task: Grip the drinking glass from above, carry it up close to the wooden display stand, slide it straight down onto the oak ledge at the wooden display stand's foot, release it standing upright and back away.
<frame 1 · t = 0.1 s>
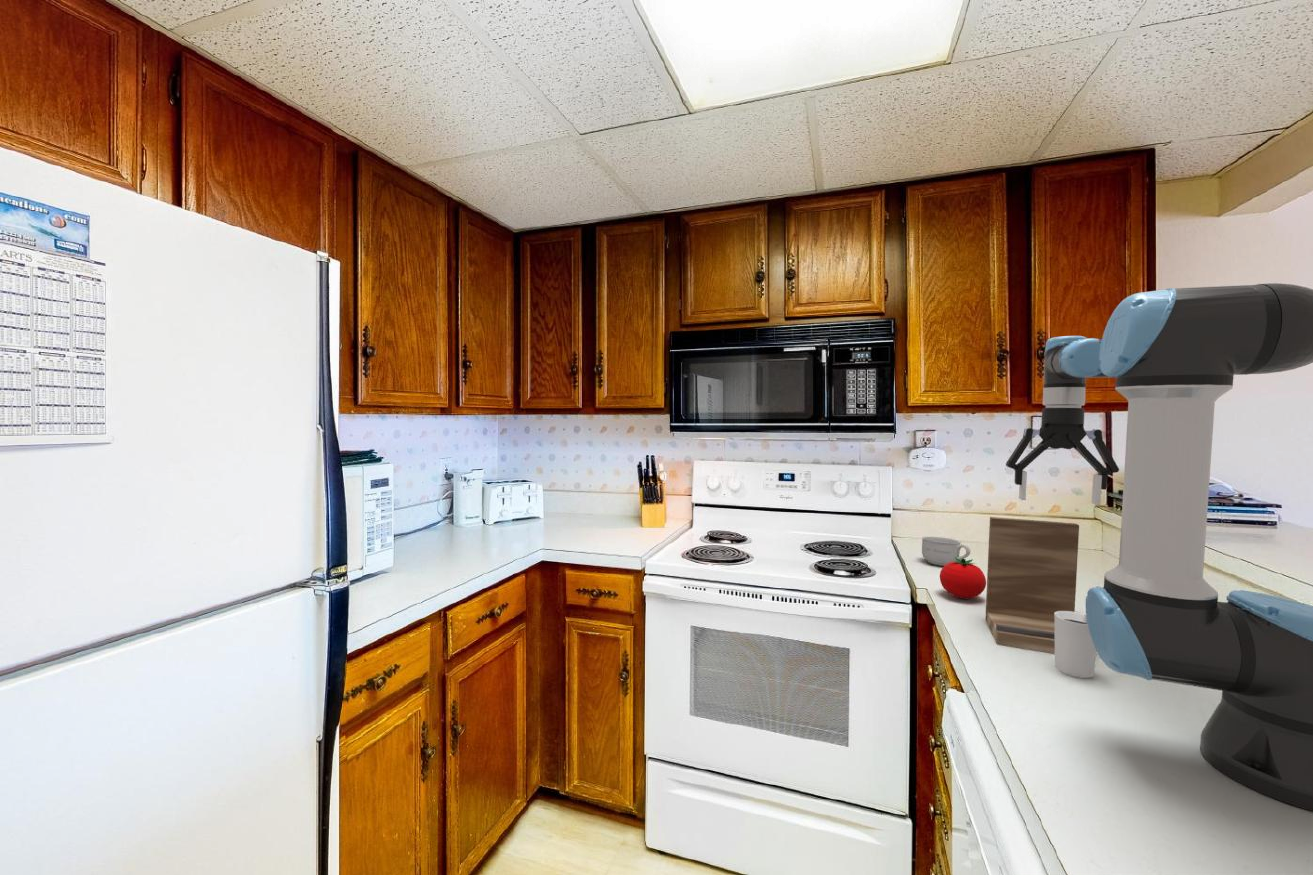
hand: (1058, 501, 119), 28 cm above the worktop, tool pointing down, fingers open, 13 cm apart
teacup: (944, 565, 166), on the worktop
wooden display stand: (1027, 627, 118), on the worktop
wall hook: (1050, 620, 123), on the worktop
tomato: (961, 597, 137), on the worktop
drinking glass: (1073, 671, 99), on the worktop
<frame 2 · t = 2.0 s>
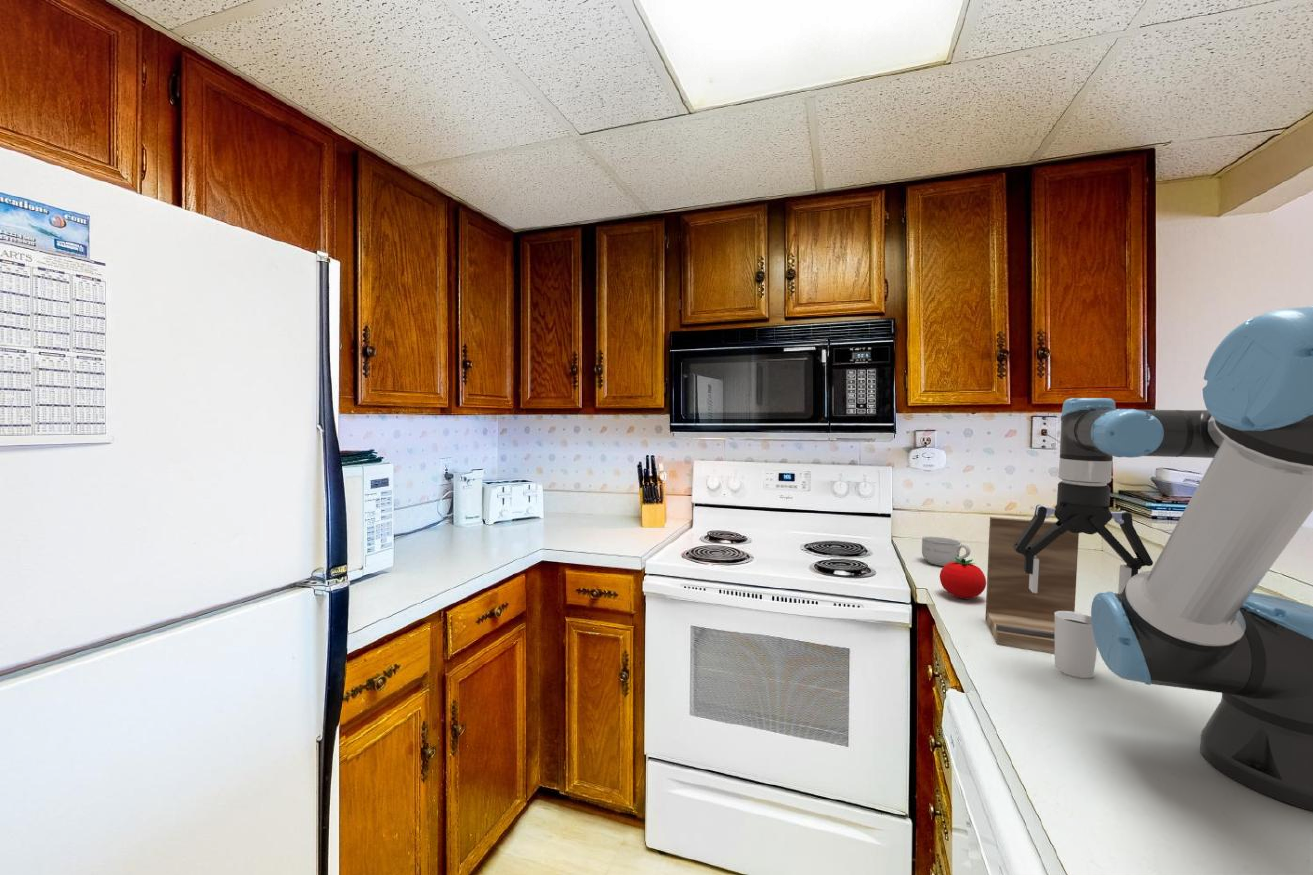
hand: (1076, 596, 98), 14 cm above the worktop, tool pointing down, fingers open, 13 cm apart
nothing on the worktop moved.
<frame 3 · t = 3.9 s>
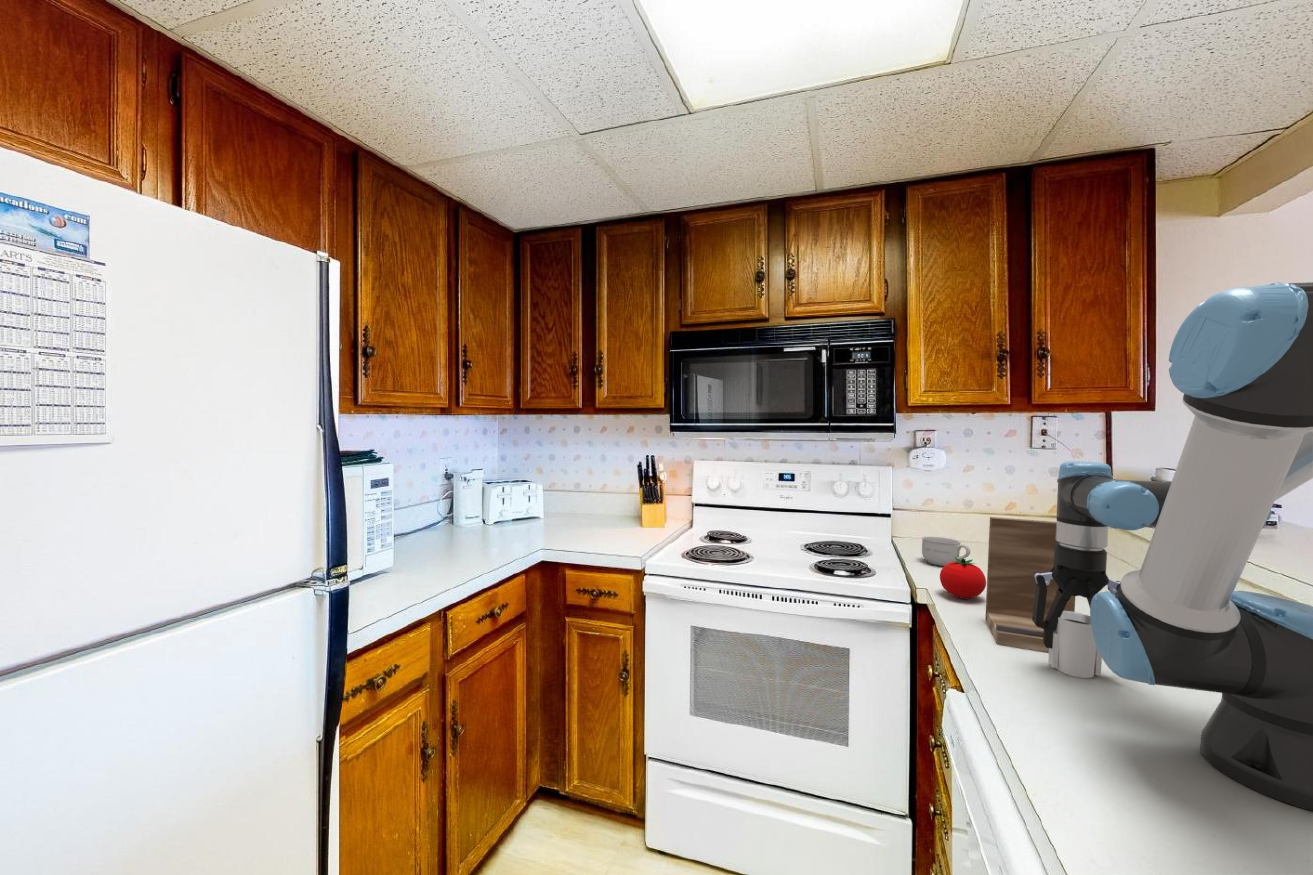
hand: (1073, 668, 99), 0 cm above the worktop, tool pointing down, fingers closed on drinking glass, 6 cm apart
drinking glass: (1073, 671, 99), on the worktop, touching gripper
everything else where it was.
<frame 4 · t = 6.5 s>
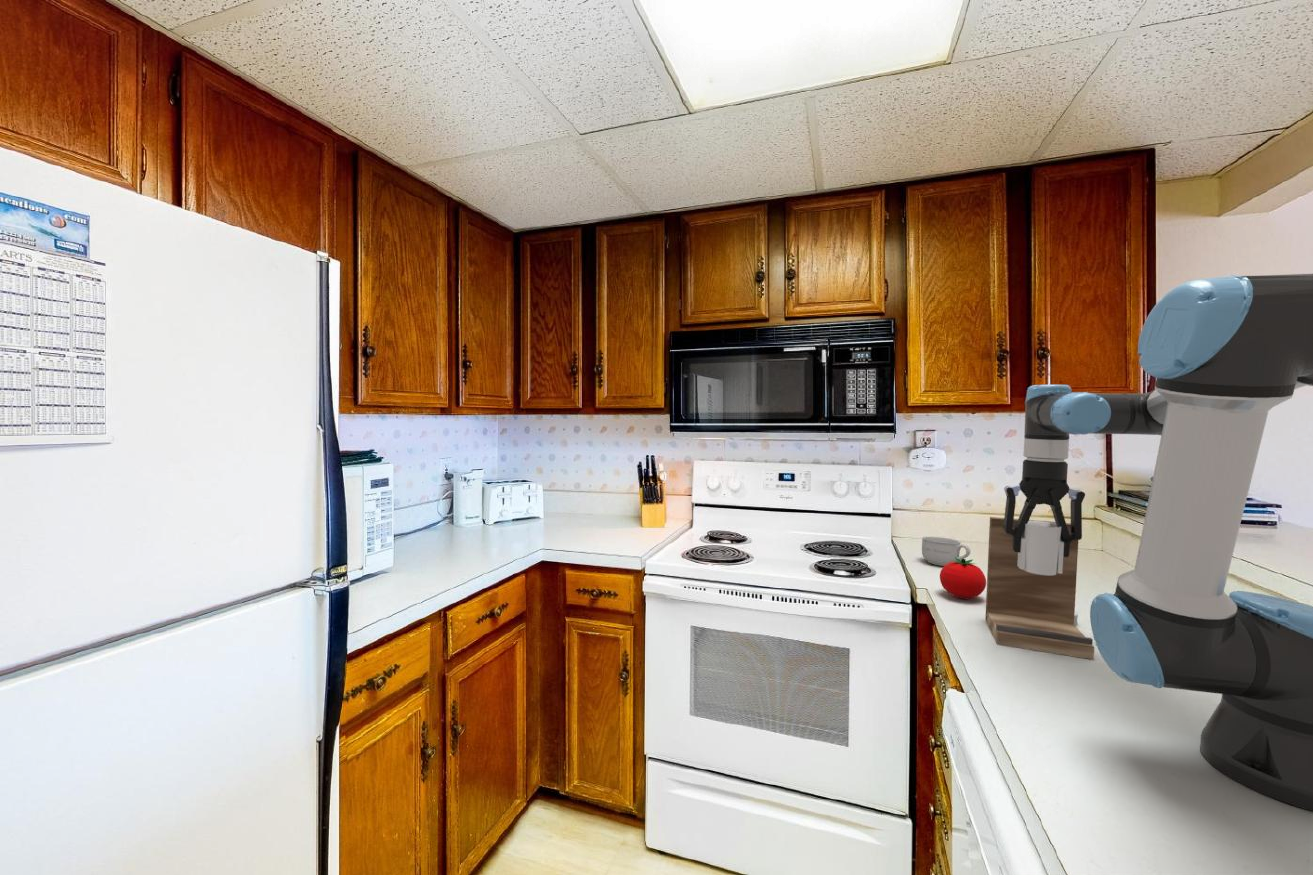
hand: (1039, 569, 111), 15 cm above the worktop, tool pointing down, fingers closed on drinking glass, 6 cm apart
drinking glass: (1039, 572, 111), point 14 cm above the worktop, touching gripper
everything else where it was.
when the fingers open (4 cm above the worktop, at t = 9.6 s): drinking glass drops 1 cm, resting on wooden display stand.
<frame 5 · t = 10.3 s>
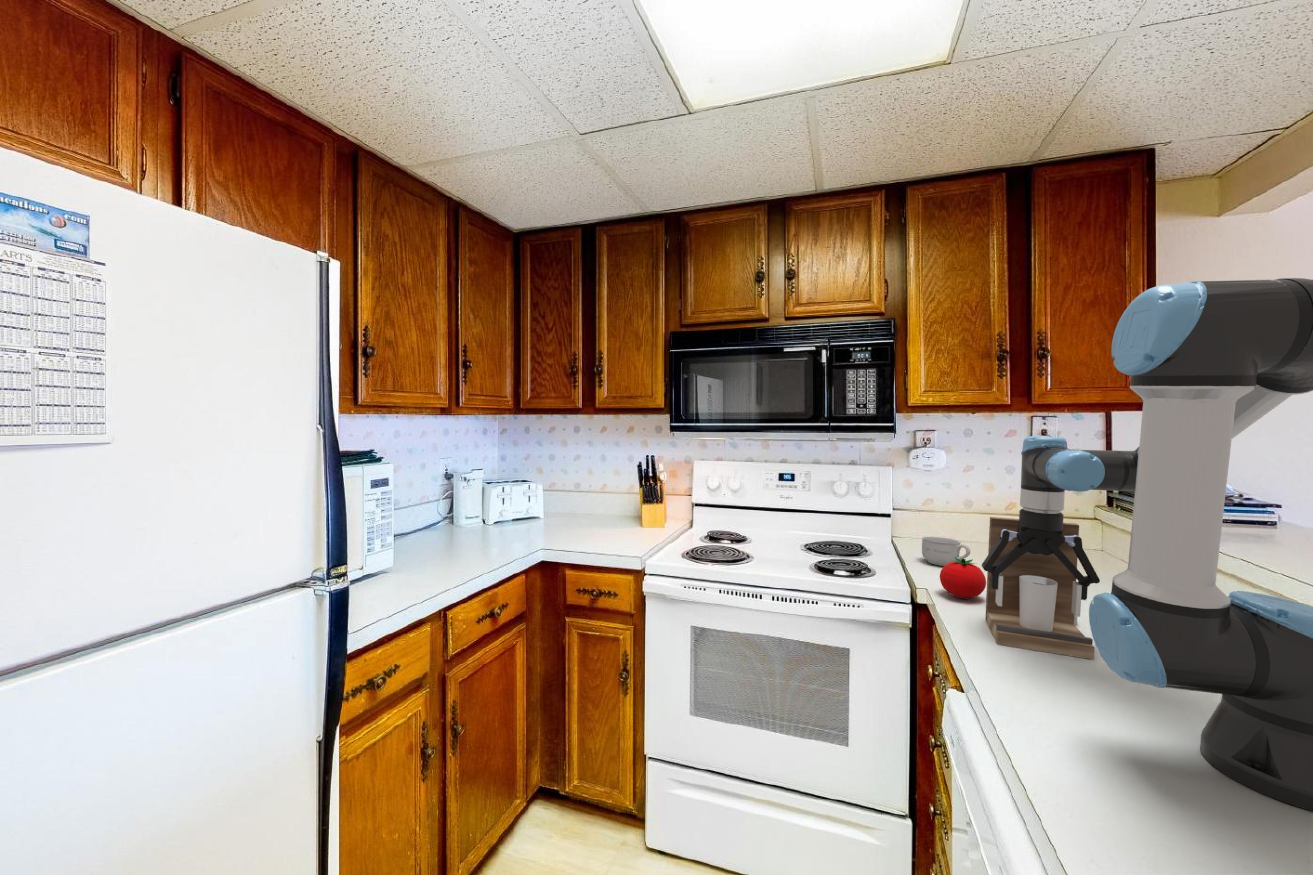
hand: (1036, 609, 112), 6 cm above the worktop, tool pointing down, fingers open, 13 cm apart
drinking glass: (1035, 627, 112), point 2 cm above the worktop, touching wooden display stand
everything else where it was.
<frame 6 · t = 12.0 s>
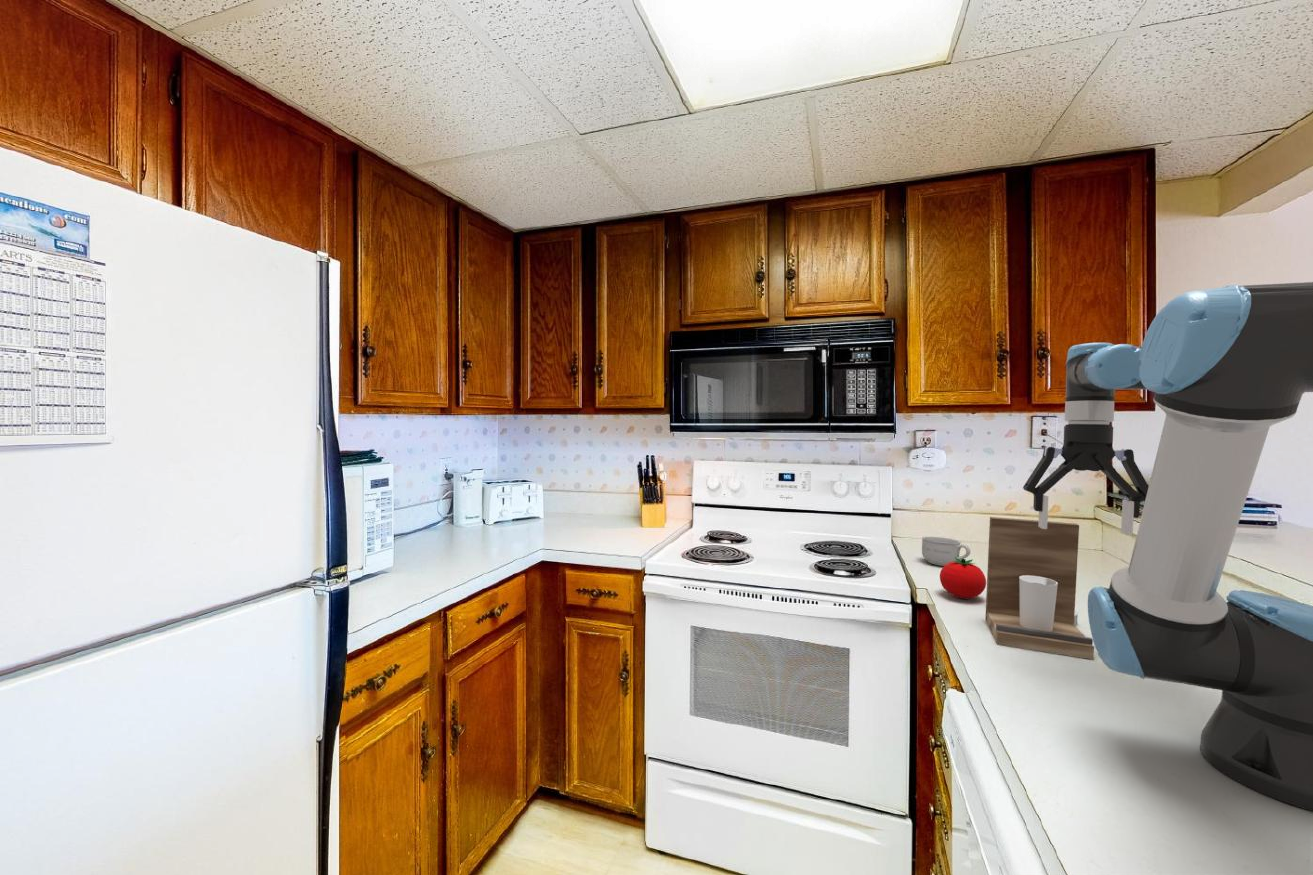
hand: (1083, 531, 105), 25 cm above the worktop, tool pointing down, fingers open, 13 cm apart
nothing on the worktop moved.
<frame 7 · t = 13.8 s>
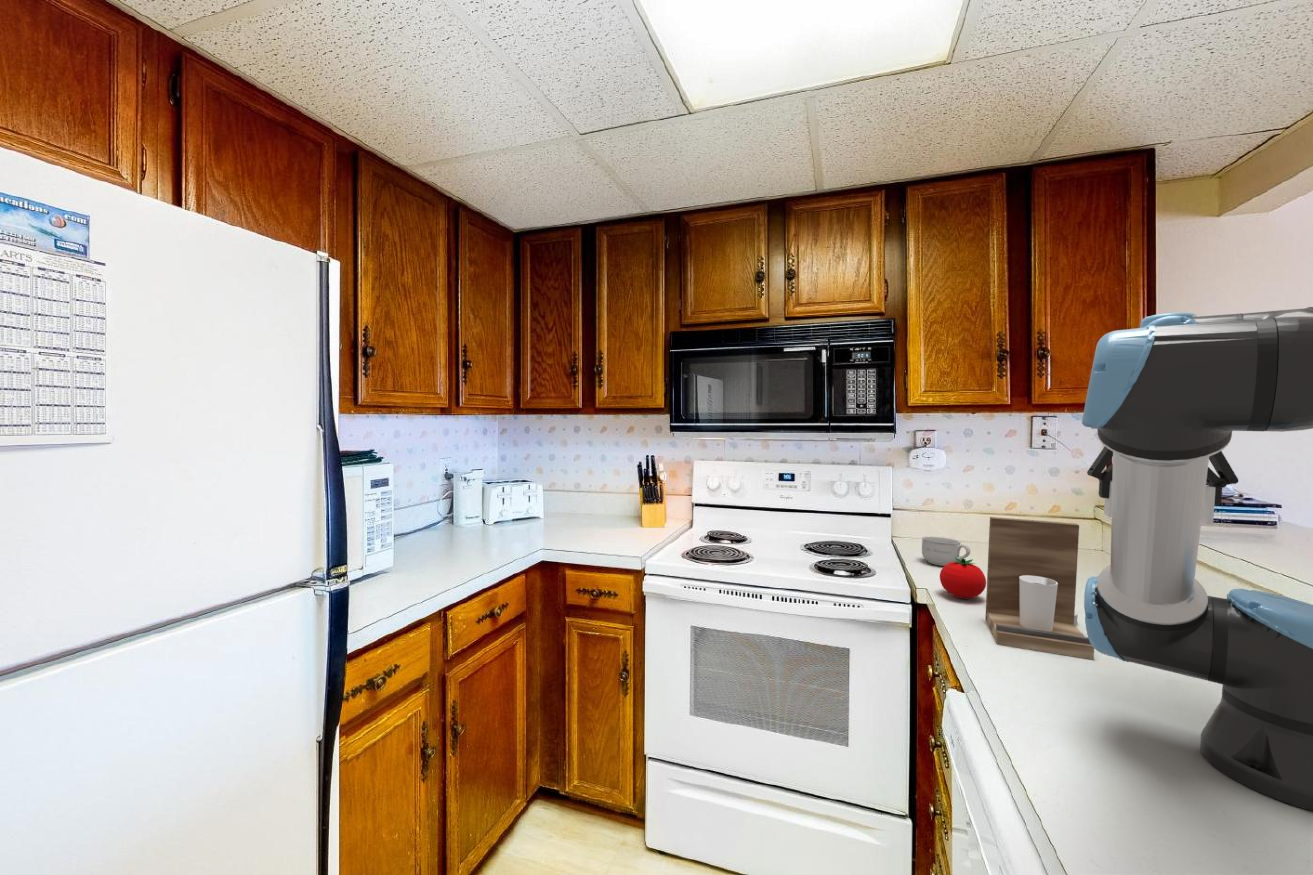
hand: (1156, 519, 96), 29 cm above the worktop, tool pointing down, fingers open, 13 cm apart
nothing on the worktop moved.
at the end: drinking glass inside the target area on the wooden display stand (0.4 cm from its centre), point 2.3 cm above the wooden display stand's base; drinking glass tilted 0°; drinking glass touching wooden display stand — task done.
